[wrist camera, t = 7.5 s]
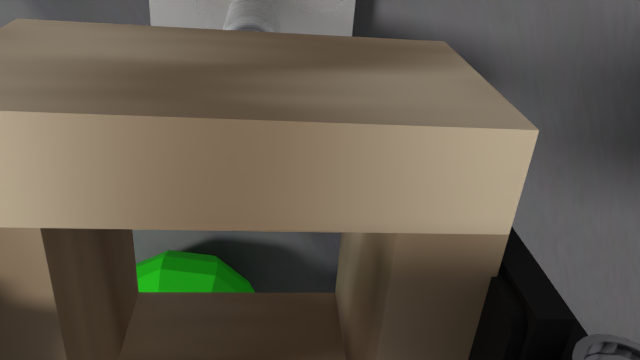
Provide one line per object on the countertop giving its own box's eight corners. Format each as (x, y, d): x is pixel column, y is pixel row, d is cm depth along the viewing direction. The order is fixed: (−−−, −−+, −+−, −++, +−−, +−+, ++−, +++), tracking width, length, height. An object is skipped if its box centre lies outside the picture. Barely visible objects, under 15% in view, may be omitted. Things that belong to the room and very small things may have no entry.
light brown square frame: (444, 41, 10) (538, 130, 7) (390, 339, 14) (432, 500, 10) (17, 19, 9) (-136, 105, 6) (77, 342, 13) (6, 517, 9)
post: (360, -86, 26) (420, -56, 16) (341, 108, 31) (377, 231, 21) (146, -103, 25) (58, -83, 15) (161, 101, 30) (102, 226, 20)
